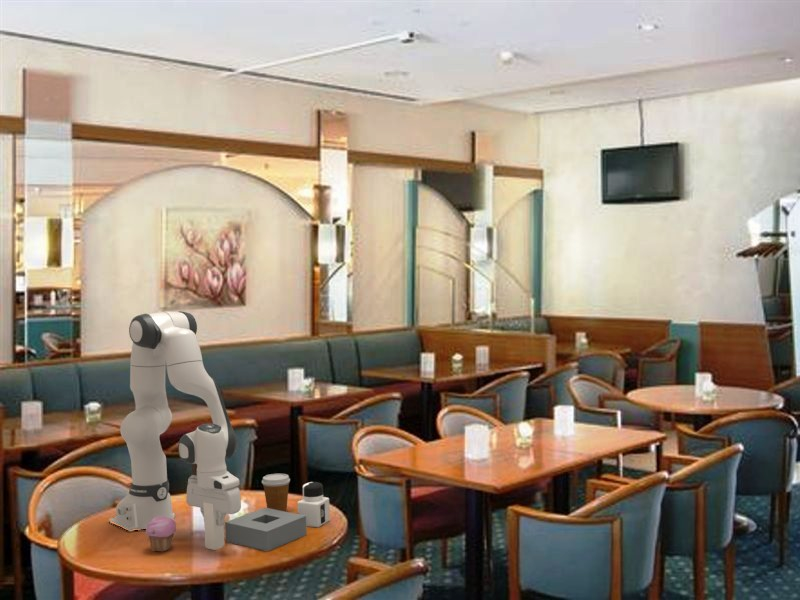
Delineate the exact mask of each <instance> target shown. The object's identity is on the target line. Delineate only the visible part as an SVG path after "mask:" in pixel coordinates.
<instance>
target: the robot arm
mask: <svg viewBox="0 0 800 600" xmlns="http://www.w3.org/2000/svg"><path fill="white" fill-rule="evenodd" d="M128 329H129V330H128V332H129V337H130V340H131V341H132V345H131V353H130V364H129V366H130V370H129V373H130V375H129V389H130V391H131V392H132V395H133V398H134V404H135V410H133V411H132V412H129V413H128V414H127V415H126V416H125V417H124V419H123V420H122V422H121V423H120V426H119V433H120V435H121V437H122V439H123V440H124V441H125V444H126V446H127V449H128V454H129V458H130V462H131V463H130V464H131V465H130V466H131V480H132V481H131V482H129V483H126V485H128V486H127V488H129V490H128V494H126V496H125V497H123V498H122V499H121V500H120V501H119V502H117V504H116V508H115V515H114V516H112V517H110V518H109V519H108V521H109V520H110V521H112V522H114V523H116V524H118V525H120V526H122V527H124V528H126V529H128V530H133V529H146V528H147V526H148V524H149V523H150V522H151V520H152V519H153V518H155V517H161V516H163V517H168V518H172V519H173V520H174V521H175V517H176V513H174V511H173V505H172V498H171V494H170V492H169V491H170V483H169V479H168V473H167V472H168V471H167V468H168V467H167V457H166V454H165V453H164V452H163V451H164V450H163V448H162V444H161V440H160V436H161V435H162V434H164V433H165V432H166V431H167V430H168V429H169V428H170V425H171V423H172V421H173V414H172V411H171V409H170V407H169V402H168V397H167V390H166V374H167V376H168V380H169V383H170V385H171V386H172V387H174V388H175V390H177V391H179V392H182V393H184V394H188V395H192V396H195V397H198V398H200V399H201V400H203V401H204V402H205V404H206V405H207V408H208V411H209V414H210V418H211V421H212V423H203V424H200V425H198V426H197V427H196V429H195V430H194V431H191V432H188V433H185V434H183V435H182V436H181V437H180V439H179V440H178V443H177V452H178V457H179V459H180V460H181V461H183V462H184V463H186V464H187V465H188V464H189V465H195V464H196V474H191V476H189V477H188V479H187V480H188V481H187V486H186V499H185V500H186V503H187V505H188V506H190V507H191V506H192V507H194V508H199V510H200V513H201V515H202V517H203V518H204V506H203V502H207V503H212V504H213V510H214V511H218V515H220V516H219V519H217V520H216V522H217V523H216V525H219V526H222V525H225V517H226V516H227V514H228V515H234V514H237V513H240V511H241V510H242V509H241V508H242V498H241V497H242V496H241V491H240V488H239V487H238V486H239V485H240V482H241V481H240V479H239V478H238V477H237V476H234V475H233V474H232V473H230V471H228V469H227V467H228V466H227V464H226V460H229V459H231V458H232V457H233V456H234V454H236V451H237V449H238V446H239V442H238V440H239V439H238V437H237V434H236V432H235V430H234V428H233V426H232V423H231V421H230V417H229V414H228V411H227V409H226V406H225V401H224V398H223V396H222V393H221V390H220V388H219V385H218V383H217V381H216V379H215V378H214V377H211V376H210V375H209V374H208V372H207V370H206V369H205V366H204V361H203V357H202V351H201V347H200V343H199V340H198V338H197V336H196V334H197V332H198V323H197V321H196V319H195V317H194V315H193V314H192V313H191V312H190V313H189V312H186V311H181V310H180V311H169V310H168V311H167V310H166V311H159V312H152V313H143V314H142V313H141V314H139V315H136V316H134V317H133V318H132V320H131V322H130V324H129V327H128ZM166 372H167V373H166ZM113 517H116V518H113Z"/></svg>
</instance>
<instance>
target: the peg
mask: <svg viewBox="0 0 800 600" xmlns="http://www.w3.org/2000/svg"><path fill="white" fill-rule="evenodd" d="M203 506H204V517H203V523H204V525H203V526H204V543H205V544H204V545H205V546H204V547H205V549H209V550H212V551H215V550H218V549H221V548H223V547H225V532H224V531H225V529H224V528H225V527H224V525H225V524H224V525H222V526H219V525H216V523H217V522H216V520H217V519H219V516H220V515H218V511H214V510H213V504H212V503H207V502H203Z"/></svg>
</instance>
